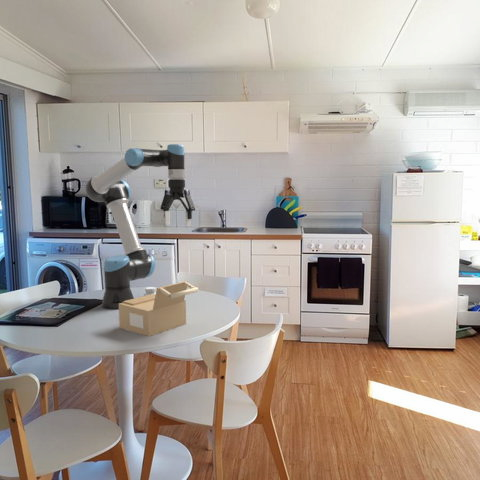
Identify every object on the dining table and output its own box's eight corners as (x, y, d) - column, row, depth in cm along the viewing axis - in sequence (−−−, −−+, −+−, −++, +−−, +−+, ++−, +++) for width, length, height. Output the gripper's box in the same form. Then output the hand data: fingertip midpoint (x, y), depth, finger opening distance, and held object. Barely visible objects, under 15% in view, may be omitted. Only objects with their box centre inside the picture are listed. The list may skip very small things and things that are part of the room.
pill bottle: (161, 312, 209) (160, 287, 208) (153, 315, 204) (152, 290, 202) (149, 310, 212) (148, 285, 211) (141, 314, 206) (140, 288, 205)
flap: (157, 287, 173) (170, 295, 169) (187, 279, 186) (200, 287, 181) (152, 309, 176) (165, 318, 172) (182, 300, 188) (195, 309, 184)
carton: (119, 327, 187) (118, 302, 186) (157, 316, 203) (156, 292, 201) (148, 336, 176) (147, 309, 175) (186, 323, 192) (185, 298, 190)
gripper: (151, 179, 214) (153, 225, 216) (190, 178, 198) (191, 227, 201) (164, 179, 220) (165, 223, 222) (202, 178, 204) (203, 226, 207)
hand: (177, 225), depth 212 cm, fingers open, 13 cm apart
